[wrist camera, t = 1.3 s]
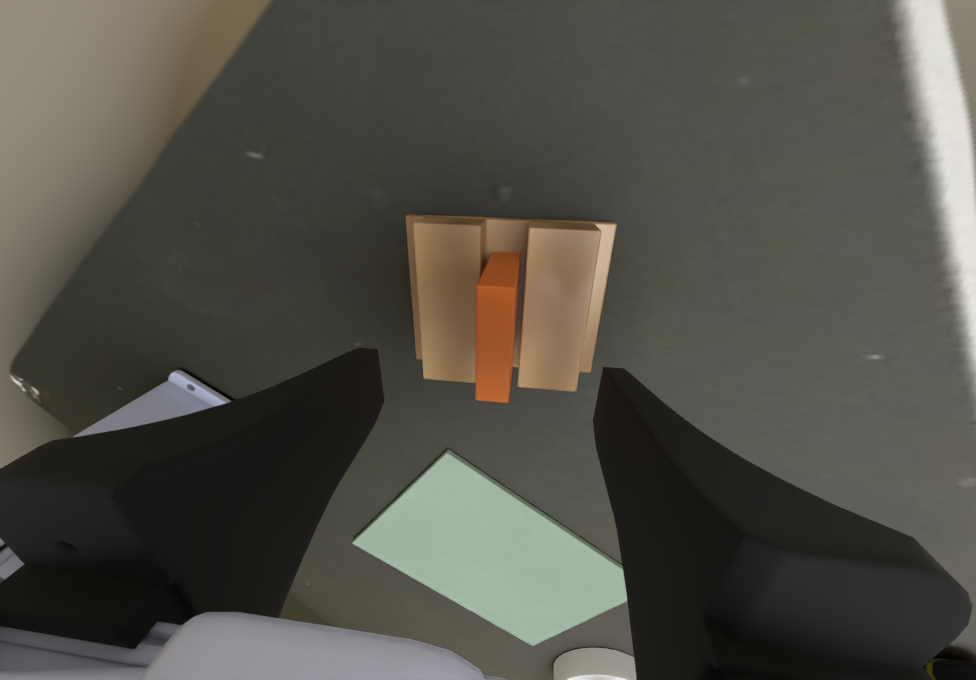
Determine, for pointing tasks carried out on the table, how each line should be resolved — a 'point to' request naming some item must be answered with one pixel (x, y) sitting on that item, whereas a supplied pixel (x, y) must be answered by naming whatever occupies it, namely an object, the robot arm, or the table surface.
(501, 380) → the block
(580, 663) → the character figurine
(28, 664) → the robot arm
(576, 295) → the holder
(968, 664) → the tape measure
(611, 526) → the table surface
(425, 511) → the mat
